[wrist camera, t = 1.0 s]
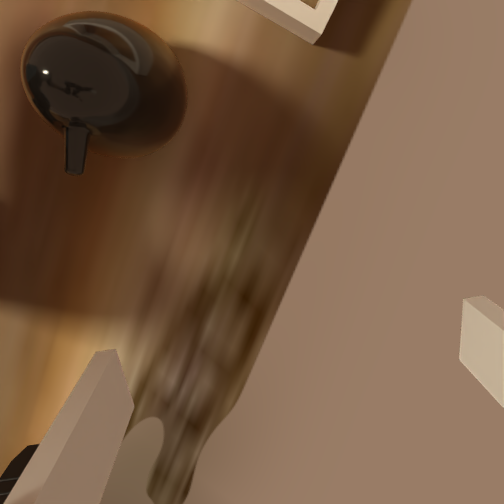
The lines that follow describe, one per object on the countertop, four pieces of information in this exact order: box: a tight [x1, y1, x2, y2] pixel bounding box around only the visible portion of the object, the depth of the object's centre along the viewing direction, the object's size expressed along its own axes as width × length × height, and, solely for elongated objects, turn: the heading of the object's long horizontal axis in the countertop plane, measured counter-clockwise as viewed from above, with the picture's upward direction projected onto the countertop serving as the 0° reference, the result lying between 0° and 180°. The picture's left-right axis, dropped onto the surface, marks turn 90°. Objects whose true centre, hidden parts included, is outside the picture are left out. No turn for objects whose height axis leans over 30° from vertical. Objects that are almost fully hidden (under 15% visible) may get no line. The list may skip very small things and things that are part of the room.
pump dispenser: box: [20, 11, 187, 176], centre depth 26 cm, size 10×10×15 cm
